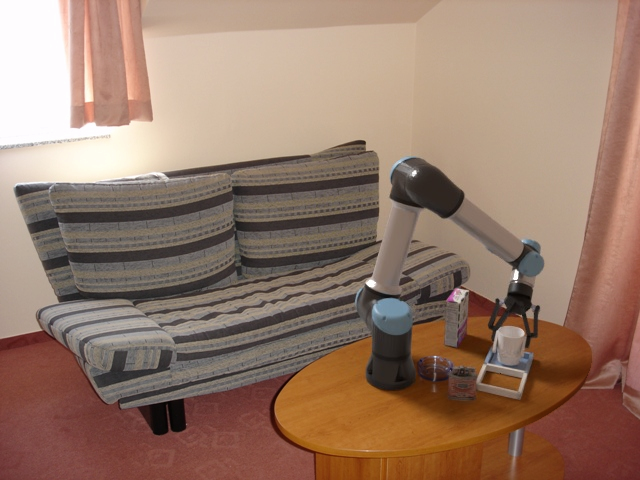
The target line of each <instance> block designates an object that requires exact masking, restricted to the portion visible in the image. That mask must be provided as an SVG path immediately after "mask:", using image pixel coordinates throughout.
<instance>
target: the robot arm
mask: <svg viewBox="0 0 640 480" xmlns="http://www.w3.org/2000/svg"><path fill="white" fill-rule="evenodd" d="M389 180H390V184H391V189H390V192H389V193H390V194H389V197H388V199H389V200H390V203H391V209H390V212H389V214H388V215H389V216H388V219H387V222H386V226H385V229H384V232H383V236H382V237H383V238H382V240H381V244H380V248H379V250H378V255H377V257H376V262H375V264H374V265H375V266H374V269H373V273H372V275H371V277H369V278H367V279H366V280H365V283H364V285H363V287H360V288H359V290H358V291H357V293H356V296H355V299H354V300H355V301H354V304H355V305H354V306H355V308H356V312H357V314H358V316H359V317H360V319H361V320H362V321H363V323H364V324H365V325H366V327H367V328H368V329H369V331H370V333H371V353H370V356H369V359H368V361H367V364H366V365H365V380H366V382H367V383H369V384H370V385H371V386H373V387H375V388H378V389H380V390H385V391H400V390H405V389H407V388H410V387H411V386H412V385H413V384H414V383H415V382H416V380H417V379H416V378H417V370H416V366H415V363H414V360H413V356H412V340H413V339H412V338H413V325H414V317H413V310H412V308H411V306H410V305H409V304H408V303H407V302H405V301H403V300H400V299H401V295H402V292H403V290H402V288H401V286H400V282H401V277H402V275H403V271H404V268H405V265H406V261H407V258H408V254H409V252H410V247H411V244H412V241H413V238H414V234H415V231H416V227H417V223H418V220H419V217H420V213H421V212H422V211H424V210H426V209H427V210H428V211H430V212H432V213H434V215H437V216H438V217H440V218H441V220H442V219H443V220H447V219H448V220H450V221H451V222H452V223H454V224H455V225H456V226H458V227H459V228H461V230H463V231H464V232H465V233H467V234H468V235H470V236H471V237H472V238H474V240H477V241H478V242H479V243H481V244H482V245H483V246H484V247H485V249H486V250H487V251H488V252H490V253H491V254H494V255H495V256H497V257H498V258H499V259H501V260H502V261H504V262H505V263H507V264H508V265H510V266H511V267H512V268H511V273H510V278H509V284H508V288H507V292H506V297H505V298H504V299H501V298H500V299H499V298H498V297H496V298H495V300H494V301H495V302H494V303H495V306H494V308H493V311H492V312H491V315H490V318H489V321H488V323H487V328H488V329H489V330H491V331H492V332H491V338H490V339H491V342H493V344H492V345H493V349H492V351H493V354H494V353H496V349H497V346H498V329H499V328H500V327H502V326H504V325H503V324H504V323H505V322H506V320H507V319H508V317H510V316H511V315H518V316H521V317H522V322H523V324H524V325H523V326H524V331H525V334H526V335H525V336H524V340H523V344H522V349H521V354H520V358H521V359H523V357H524V352H526V349H529V348H530V346H531V340H532V339H537V338H538V336H539V334H538V333H539V332H538V331H539V314H540V311H541V305H540V304H539V305H538V304H537V305H535V304H533V303H532V299H533V293H534V288H535V283H536V278H537V276H538V275H540V274H541V273H542V271H543V270H544V267H545V259H544V257H543V256H542V255H541V244H540V243H539V242H538V241H536V240H532V239H530V238H522V239H519V238H518V237H517V236H515V234H513V233H512V232H510V231H509V230H508V229H506V228H505V227H504V226H503V225H501V224H500V223H499V222H497V221H496V220H495V219H494V218H492V217H491V216H490V215H489V214H487V213H486V212H485V211H484V210H483V209H481V208H480V207H478V206H477V205H476V204H475V203H473V202H472V201H471V200H469V199H468V198H467V197H466V193H465V191H464V190H462V189H461V187H459V186H457V184H455V182H454V181H453V180H451V178H449V177H448V176H447V175H446V173H444V172H443V171H442V170H441V169H440V168H438V167H437V166H436V165H433V164H432V163H430V162H428V161H426V160H425V159H424V158H421V157H419V156H418V157H417V156H413V155H411V156H404V157H401V159H399V160H396V162H395V163H394V164H393V165H392V166H391V169H390V172H389ZM503 305H505V310H504V311H503V313H502V314H501V316H500V317H499V319H498V320H497V316H498V314H499V311H500V310H501V309H500V308H501V307H503ZM530 309H531V311H532V312H533V328H532V329H533V332H531V329H530V324H529V321H528V317H527V312H529V310H530ZM496 320H497V322H496ZM495 322H496V323H495Z"/></svg>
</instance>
